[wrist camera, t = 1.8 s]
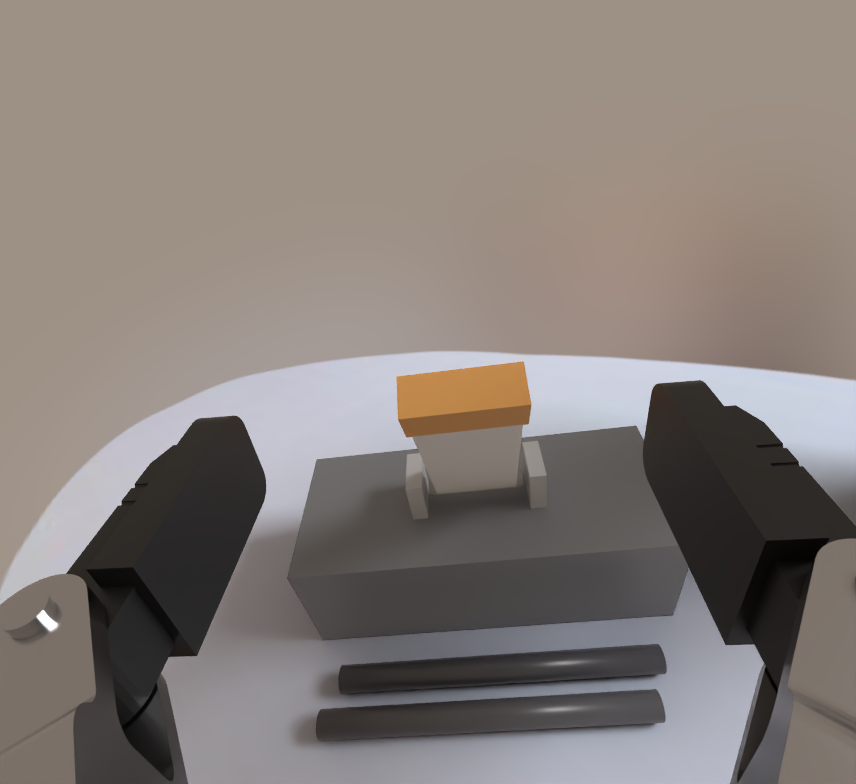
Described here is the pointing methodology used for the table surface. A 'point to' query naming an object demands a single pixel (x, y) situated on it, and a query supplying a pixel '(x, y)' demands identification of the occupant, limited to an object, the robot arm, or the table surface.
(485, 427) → the breaker lever
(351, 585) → the block
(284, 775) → the table surface
